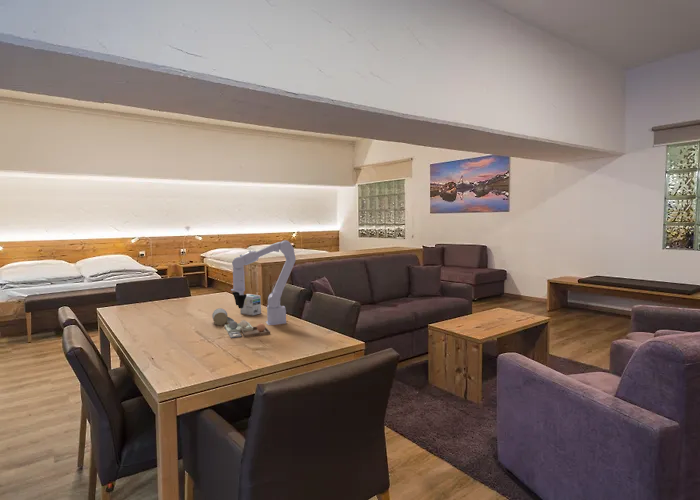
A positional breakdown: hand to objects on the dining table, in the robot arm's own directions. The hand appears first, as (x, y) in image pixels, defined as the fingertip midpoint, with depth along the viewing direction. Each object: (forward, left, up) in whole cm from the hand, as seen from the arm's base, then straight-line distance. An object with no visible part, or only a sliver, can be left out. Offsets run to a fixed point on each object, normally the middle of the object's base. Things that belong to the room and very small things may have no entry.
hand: (239, 306), depth 212 cm
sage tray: (+2, +8, -10) cm, 13 cm away
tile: (+6, +19, -10) cm, 22 cm away
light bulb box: (-10, -24, -10) cm, 28 cm away
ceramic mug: (+8, -7, -10) cm, 15 cm away
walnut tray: (-4, +18, -10) cm, 21 cm away
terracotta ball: (-7, +18, -9) cm, 21 cm away
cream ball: (0, +8, -9) cm, 12 cm away
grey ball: (+5, +8, -9) cm, 13 cm away
